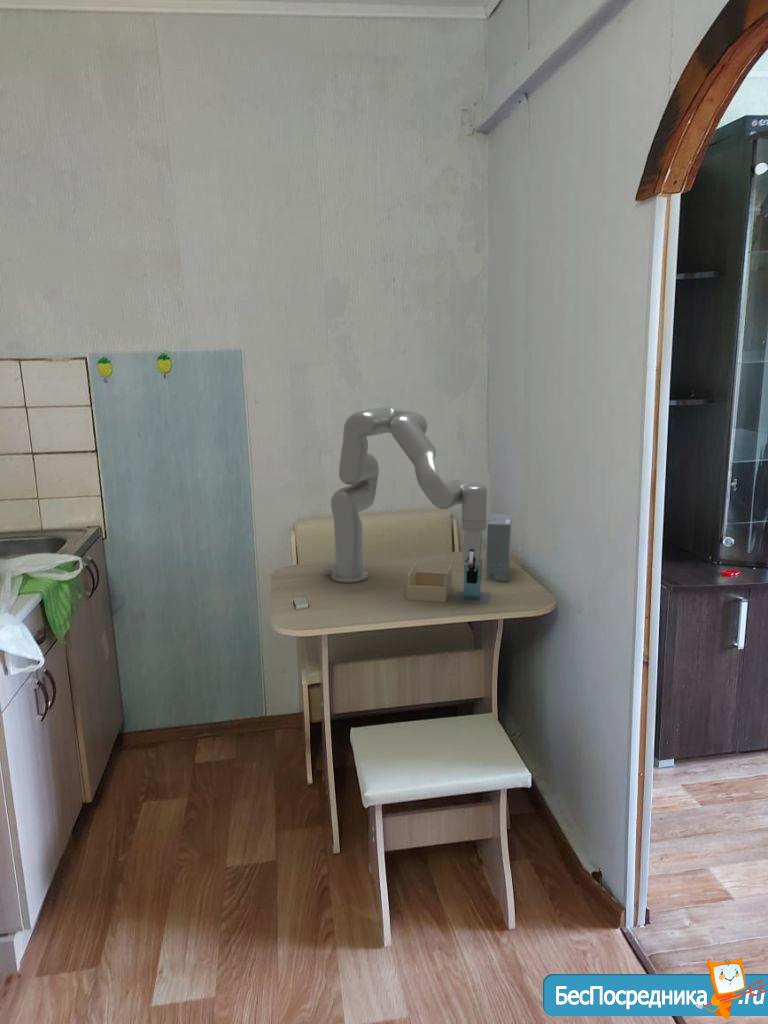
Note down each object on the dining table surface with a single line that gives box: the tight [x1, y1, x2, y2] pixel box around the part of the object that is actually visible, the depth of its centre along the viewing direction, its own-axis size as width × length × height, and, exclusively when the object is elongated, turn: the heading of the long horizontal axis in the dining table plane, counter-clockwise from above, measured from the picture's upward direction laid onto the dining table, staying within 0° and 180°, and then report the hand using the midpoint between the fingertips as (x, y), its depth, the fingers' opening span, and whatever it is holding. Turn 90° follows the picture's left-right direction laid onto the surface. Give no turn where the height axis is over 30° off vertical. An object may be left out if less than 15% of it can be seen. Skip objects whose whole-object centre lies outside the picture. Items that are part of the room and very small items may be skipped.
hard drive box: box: [485, 513, 513, 582], centre depth 259 cm, size 16×8×20 cm, turn 168°
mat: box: [454, 590, 491, 605], centre depth 238 cm, size 10×10×1 cm
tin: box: [463, 557, 483, 600], centre depth 236 cm, size 5×5×12 cm
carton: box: [406, 562, 453, 603], centre depth 242 cm, size 12×15×8 cm
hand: (473, 578), depth 236 cm, fingers open, 6 cm apart
